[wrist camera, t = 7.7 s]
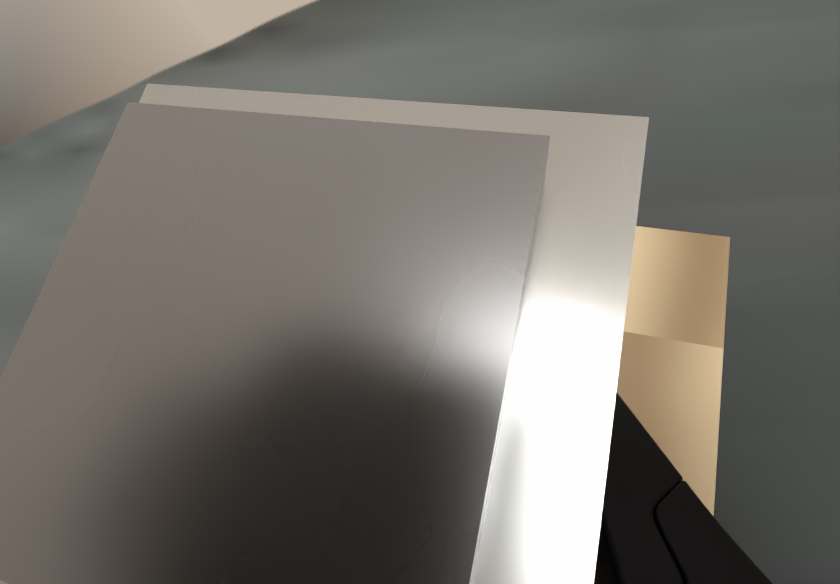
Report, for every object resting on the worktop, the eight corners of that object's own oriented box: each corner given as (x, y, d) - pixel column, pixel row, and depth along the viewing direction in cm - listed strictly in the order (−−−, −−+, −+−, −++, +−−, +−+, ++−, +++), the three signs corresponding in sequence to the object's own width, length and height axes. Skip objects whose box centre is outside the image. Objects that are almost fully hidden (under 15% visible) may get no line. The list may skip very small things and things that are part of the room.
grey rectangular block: (520, 514, 14) (570, 1052, 2) (383, 476, 16) (-209, 634, 3) (543, 371, 16) (675, 53, 3) (414, 345, 17) (94, 32, 4)
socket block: (685, 279, 18) (729, 237, 14) (649, 702, 15) (697, 792, 11) (350, 232, 21) (316, 188, 18) (255, 565, 18) (186, 598, 14)
